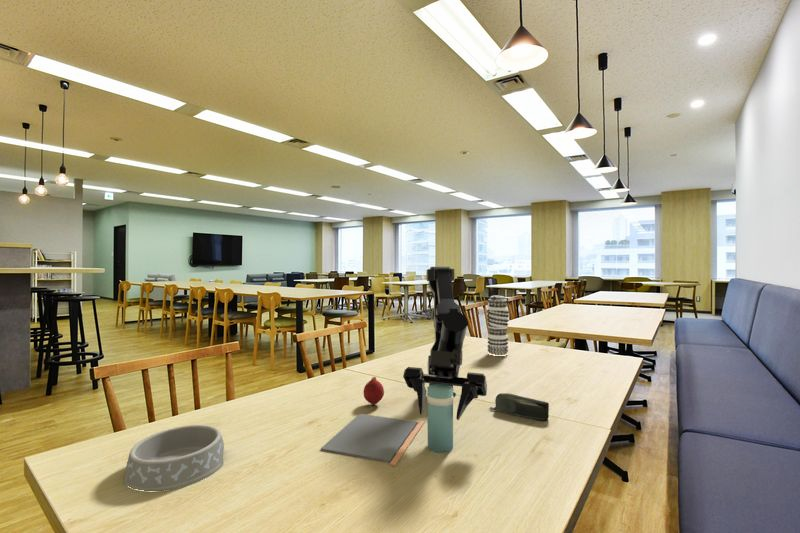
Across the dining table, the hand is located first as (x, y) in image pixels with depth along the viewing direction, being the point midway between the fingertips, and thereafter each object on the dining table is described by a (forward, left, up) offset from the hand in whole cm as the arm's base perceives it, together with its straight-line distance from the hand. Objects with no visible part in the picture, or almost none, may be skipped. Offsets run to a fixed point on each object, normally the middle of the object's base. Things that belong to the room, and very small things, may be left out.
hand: (438, 416), depth 86 cm
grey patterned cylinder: (-64, -63, -7) cm, 90 cm away
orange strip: (+4, -6, -7) cm, 10 cm away
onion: (+4, -30, -7) cm, 31 cm away
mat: (+11, -12, -7) cm, 18 cm away
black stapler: (-28, -8, -7) cm, 31 cm away
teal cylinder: (-1, -1, -7) cm, 7 cm away
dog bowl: (+51, -16, -8) cm, 54 cm away
